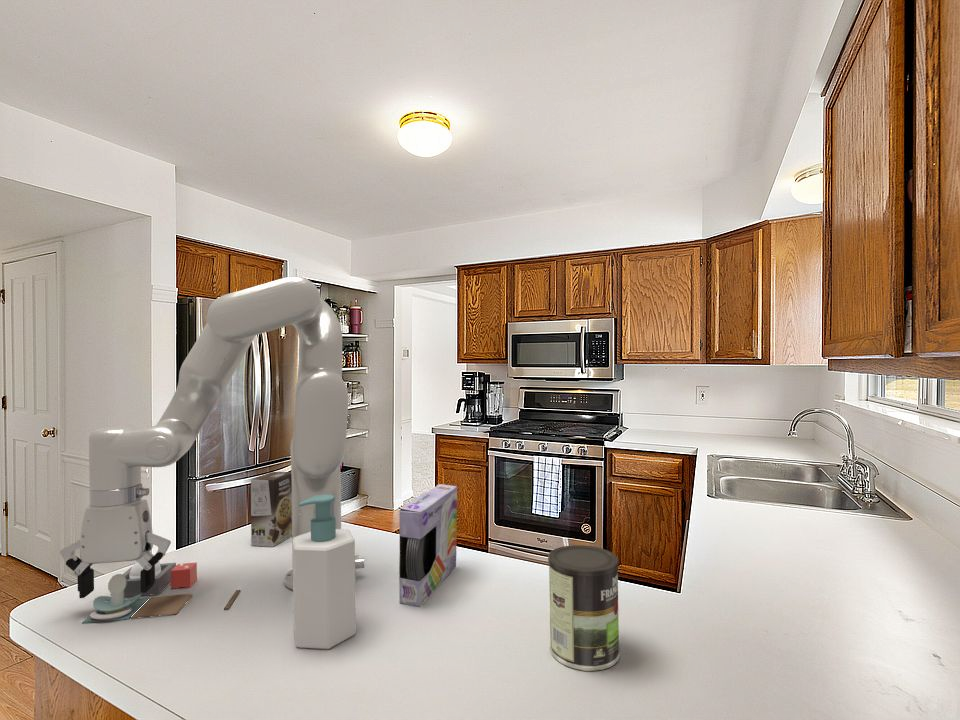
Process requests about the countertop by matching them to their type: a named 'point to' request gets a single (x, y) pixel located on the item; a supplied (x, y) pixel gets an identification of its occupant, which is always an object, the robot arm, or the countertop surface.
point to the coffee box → (271, 509)
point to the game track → (156, 607)
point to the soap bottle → (323, 581)
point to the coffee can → (584, 607)
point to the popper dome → (138, 568)
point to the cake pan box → (427, 543)
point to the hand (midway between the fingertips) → (117, 592)
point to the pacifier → (113, 600)
